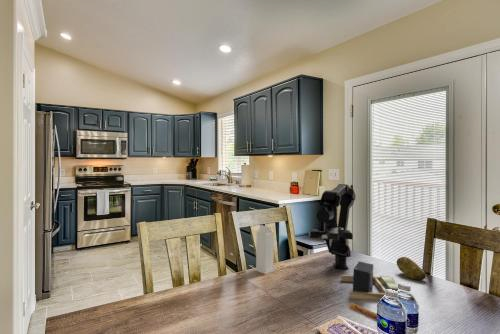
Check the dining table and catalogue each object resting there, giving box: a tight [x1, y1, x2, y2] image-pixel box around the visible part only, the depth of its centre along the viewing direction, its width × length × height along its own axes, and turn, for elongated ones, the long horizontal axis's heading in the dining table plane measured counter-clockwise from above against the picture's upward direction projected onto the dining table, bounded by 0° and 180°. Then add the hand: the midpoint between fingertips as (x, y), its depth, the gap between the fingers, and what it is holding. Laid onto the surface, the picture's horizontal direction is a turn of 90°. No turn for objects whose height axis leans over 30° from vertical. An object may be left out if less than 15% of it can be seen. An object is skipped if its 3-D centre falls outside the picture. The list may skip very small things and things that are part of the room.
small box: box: [352, 261, 374, 293], centre depth 122 cm, size 11×6×10 cm, turn 148°
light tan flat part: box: [340, 274, 399, 301], centre depth 122 cm, size 17×22×4 cm
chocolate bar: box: [348, 302, 378, 322], centre depth 104 cm, size 3×12×2 cm, turn 38°
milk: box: [255, 224, 275, 275], centre depth 141 cm, size 6×6×22 cm
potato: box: [396, 256, 427, 281], centre depth 137 cm, size 8×13×8 cm, turn 7°
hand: (329, 252), depth 133 cm, fingers closed
